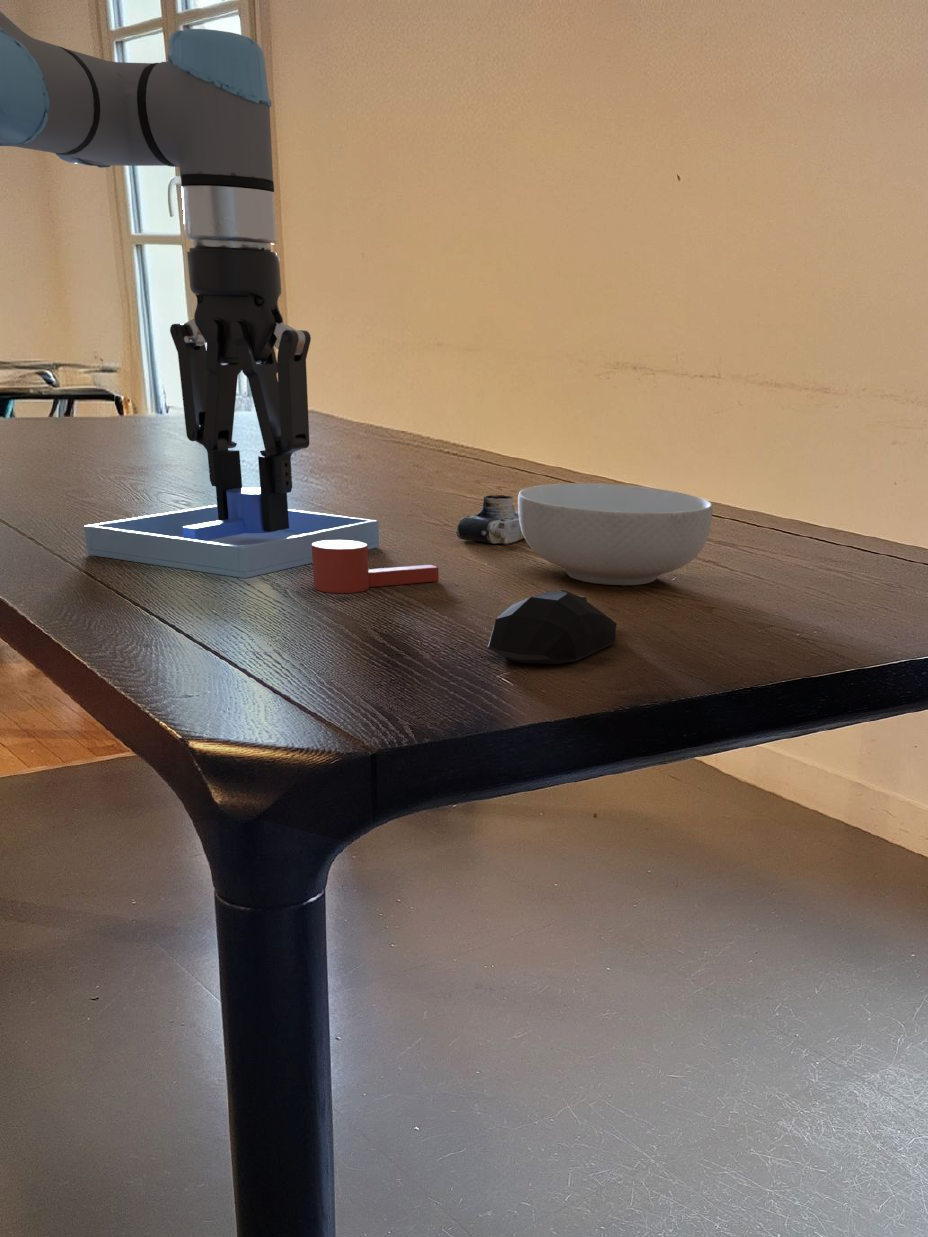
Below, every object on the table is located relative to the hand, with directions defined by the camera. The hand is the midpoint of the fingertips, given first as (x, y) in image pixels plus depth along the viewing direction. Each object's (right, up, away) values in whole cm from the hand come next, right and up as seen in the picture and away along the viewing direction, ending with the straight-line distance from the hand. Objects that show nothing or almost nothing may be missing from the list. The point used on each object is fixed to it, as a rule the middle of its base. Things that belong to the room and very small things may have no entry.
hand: (254, 526), depth 119 cm
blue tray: (-1, -3, -1) cm, 3 cm away
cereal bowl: (+33, -6, -4) cm, 34 cm away
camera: (+22, +2, +13) cm, 25 cm away
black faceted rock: (+30, -16, -28) cm, 44 cm away
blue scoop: (-1, -1, -3) cm, 3 cm away
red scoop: (+14, -8, -12) cm, 20 cm away
